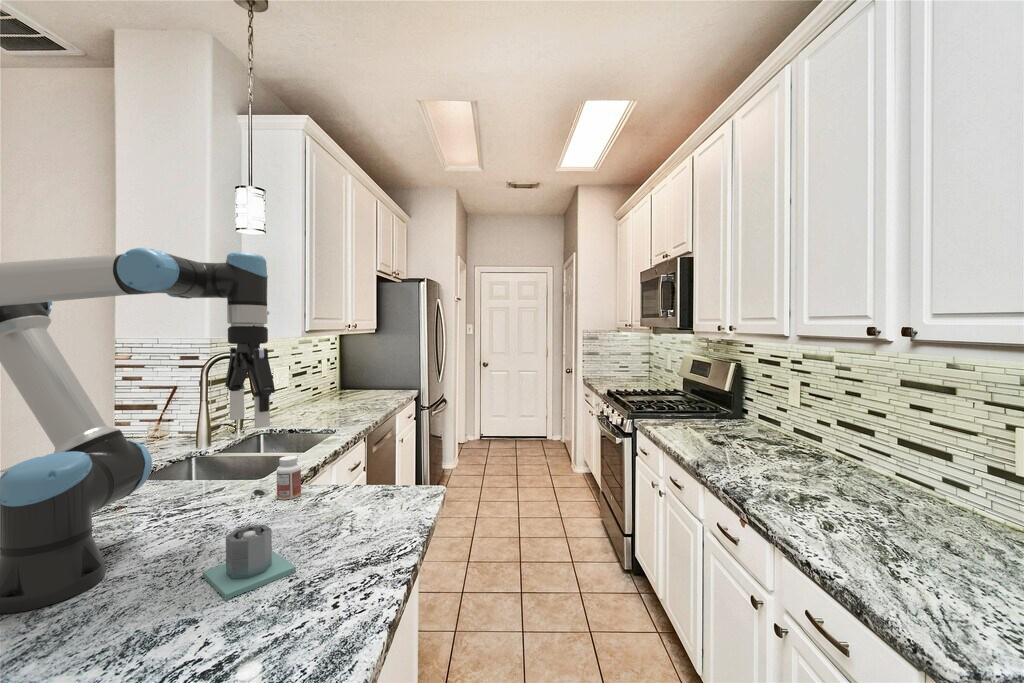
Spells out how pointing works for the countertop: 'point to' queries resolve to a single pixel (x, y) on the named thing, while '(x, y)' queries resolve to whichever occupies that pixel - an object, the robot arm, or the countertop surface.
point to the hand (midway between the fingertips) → (249, 423)
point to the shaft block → (239, 586)
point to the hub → (248, 552)
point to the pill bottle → (288, 478)
